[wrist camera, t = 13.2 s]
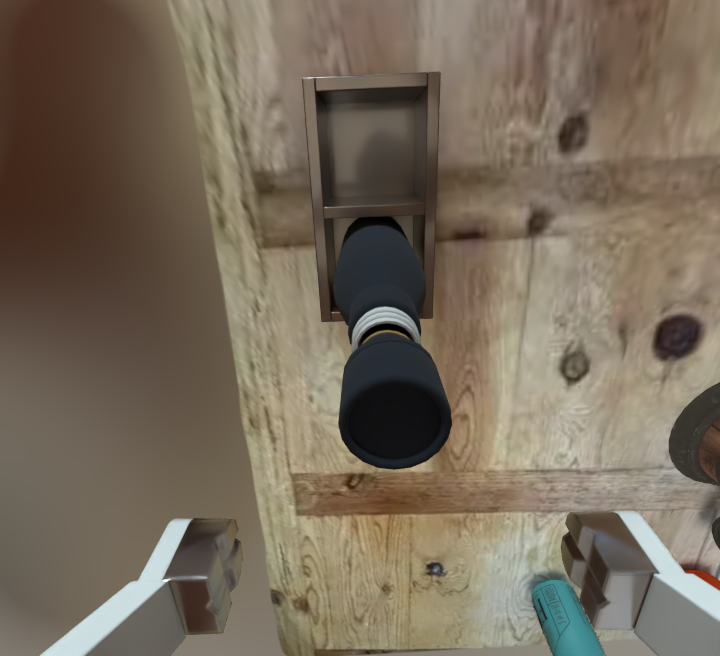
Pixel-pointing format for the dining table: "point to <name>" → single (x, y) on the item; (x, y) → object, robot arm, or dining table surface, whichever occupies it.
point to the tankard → (699, 443)
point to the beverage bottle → (564, 620)
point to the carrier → (372, 165)
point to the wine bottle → (387, 350)
